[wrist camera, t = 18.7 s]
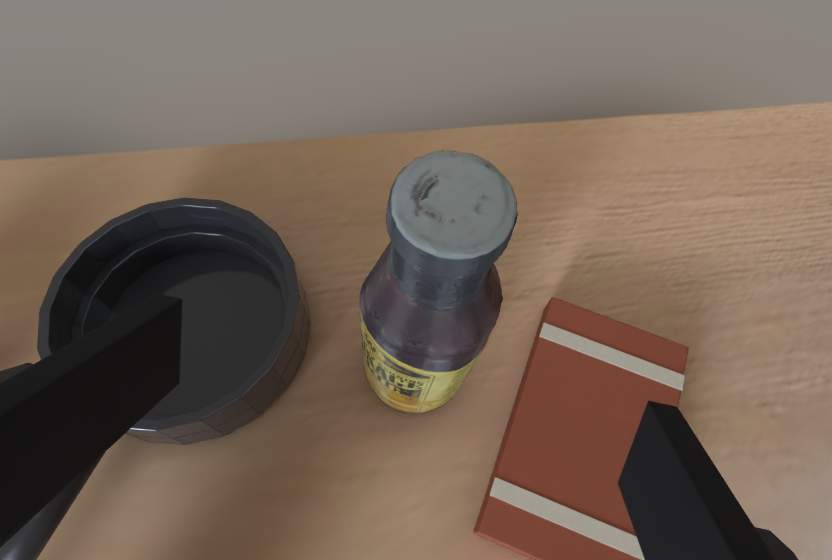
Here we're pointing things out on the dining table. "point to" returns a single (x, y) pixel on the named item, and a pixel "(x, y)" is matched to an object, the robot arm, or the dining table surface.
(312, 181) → the dining table surface
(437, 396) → the sauce bottle
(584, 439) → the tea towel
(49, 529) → the pan handle
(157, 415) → the pan
